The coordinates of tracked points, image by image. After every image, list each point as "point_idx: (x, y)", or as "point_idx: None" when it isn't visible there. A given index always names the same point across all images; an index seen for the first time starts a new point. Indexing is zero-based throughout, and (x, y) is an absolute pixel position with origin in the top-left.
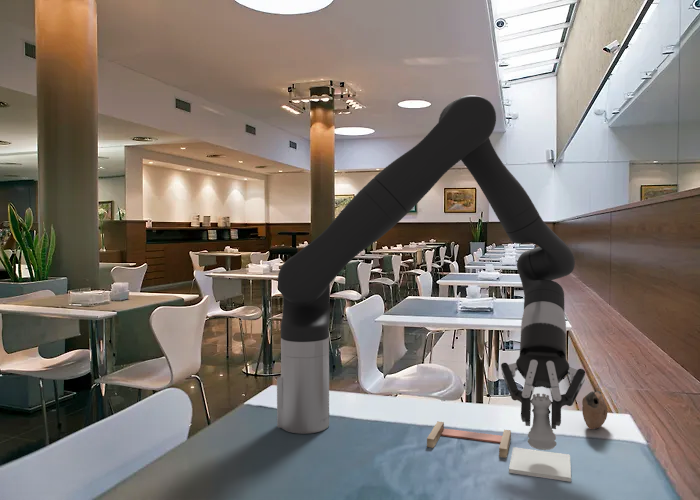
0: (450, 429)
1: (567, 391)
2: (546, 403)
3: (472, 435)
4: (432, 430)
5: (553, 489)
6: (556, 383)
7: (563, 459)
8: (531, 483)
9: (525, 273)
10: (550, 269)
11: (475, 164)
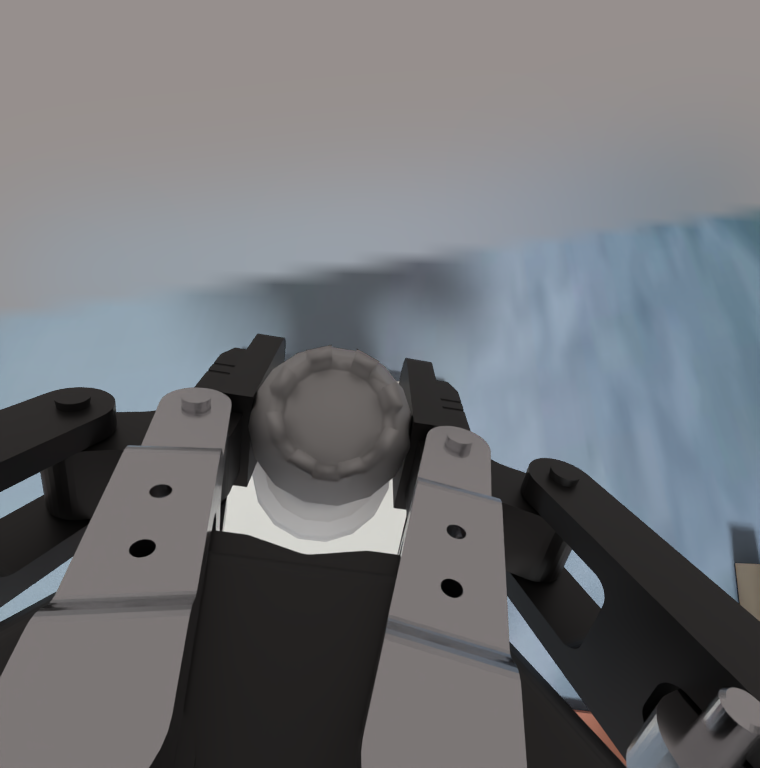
0: None
1: (67, 427)
2: (301, 352)
3: (620, 758)
4: None
5: (310, 302)
6: (149, 448)
7: (226, 524)
8: (375, 330)
9: None
10: None
11: None
